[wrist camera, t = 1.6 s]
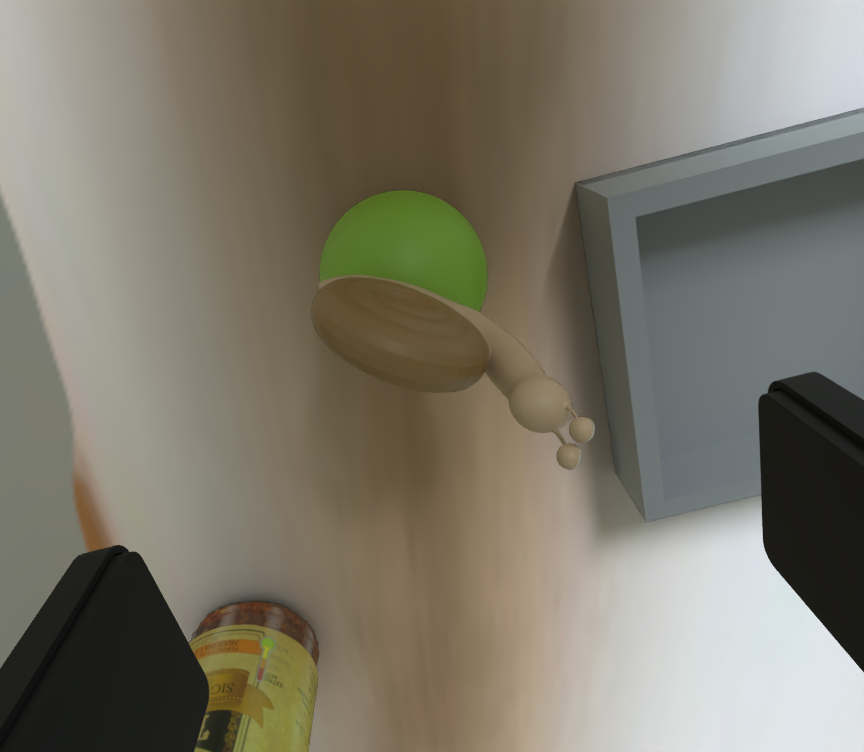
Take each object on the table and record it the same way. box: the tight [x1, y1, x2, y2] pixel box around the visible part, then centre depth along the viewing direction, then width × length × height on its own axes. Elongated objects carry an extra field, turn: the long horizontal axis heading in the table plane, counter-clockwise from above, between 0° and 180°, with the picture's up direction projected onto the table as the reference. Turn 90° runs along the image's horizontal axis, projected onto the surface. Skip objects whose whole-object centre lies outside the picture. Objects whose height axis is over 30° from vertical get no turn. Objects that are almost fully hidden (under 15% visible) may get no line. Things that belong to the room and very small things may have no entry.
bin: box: [575, 108, 864, 522], centre depth 23 cm, size 13×14×4 cm
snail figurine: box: [311, 190, 595, 470], centre depth 18 cm, size 5×6×12 cm
